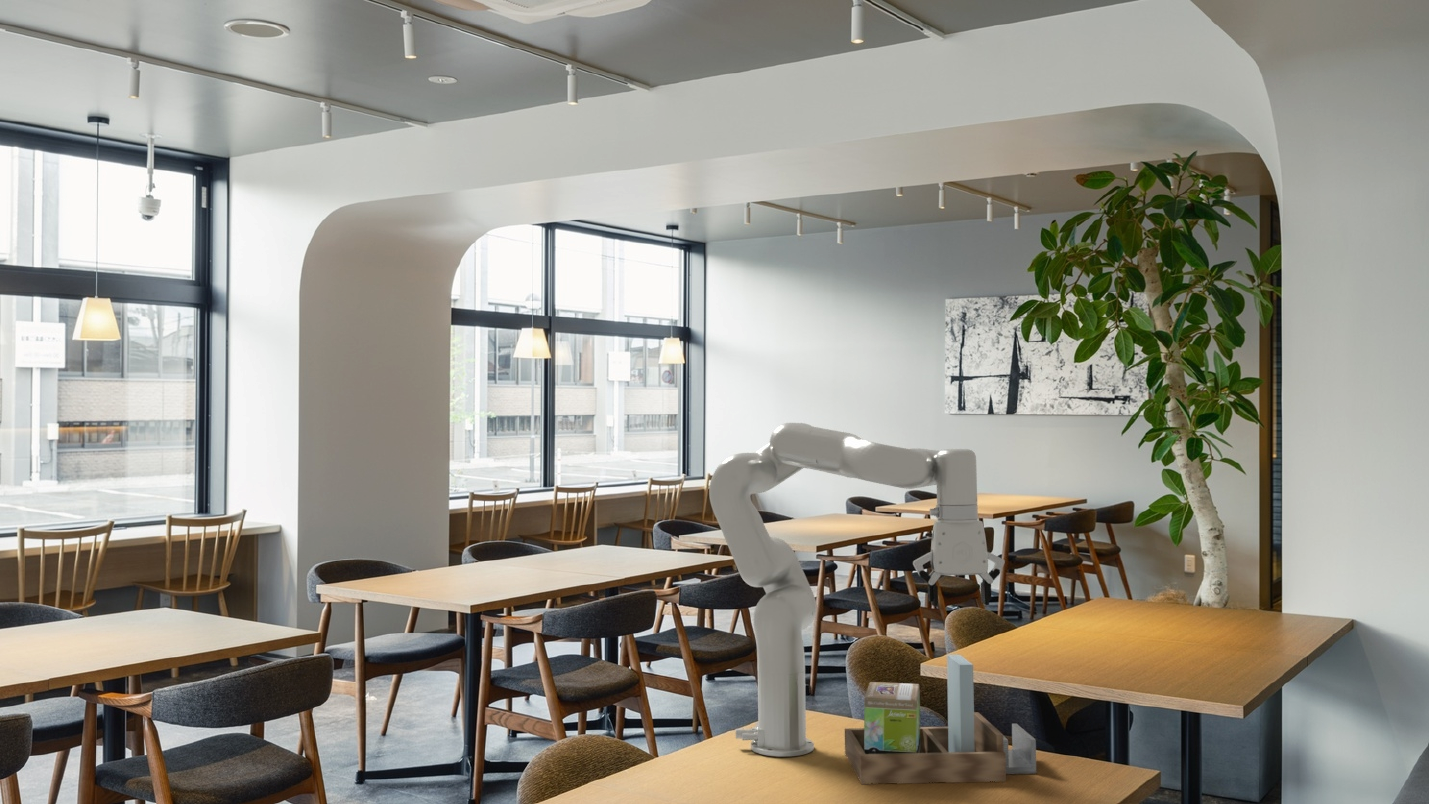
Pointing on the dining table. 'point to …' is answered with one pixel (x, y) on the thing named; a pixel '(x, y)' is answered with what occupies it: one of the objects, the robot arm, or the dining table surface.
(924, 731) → the divided tray
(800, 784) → the dining table surface
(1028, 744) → the stand
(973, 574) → the robot arm
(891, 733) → the tea box
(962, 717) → the rectangular block
